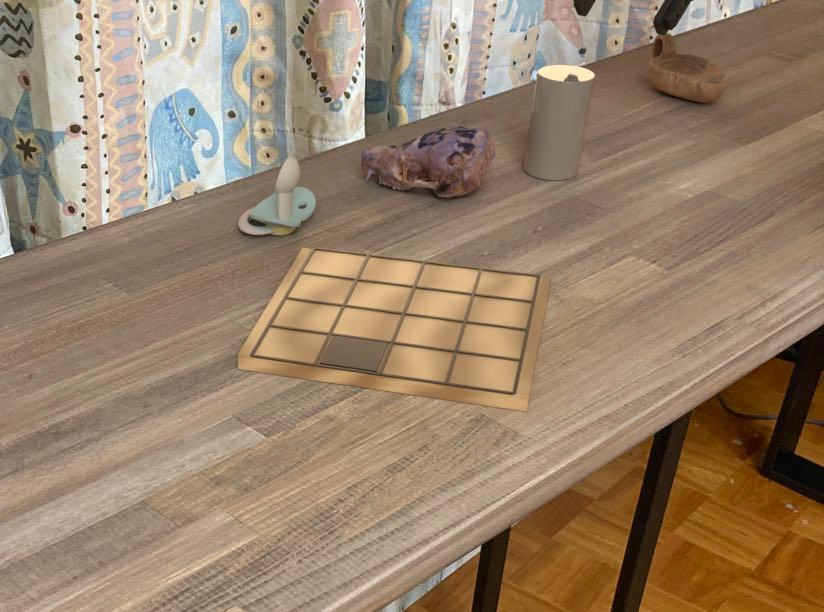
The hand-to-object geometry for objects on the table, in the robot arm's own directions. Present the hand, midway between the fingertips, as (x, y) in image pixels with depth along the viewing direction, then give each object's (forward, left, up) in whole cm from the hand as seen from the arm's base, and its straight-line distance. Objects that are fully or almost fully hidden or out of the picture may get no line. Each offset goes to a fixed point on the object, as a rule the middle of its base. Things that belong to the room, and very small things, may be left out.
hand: (617, 20), depth 104 cm
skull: (+15, +13, -12) cm, 23 cm away
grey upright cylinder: (+4, +6, -12) cm, 14 cm away
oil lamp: (-8, -22, -12) cm, 26 cm away
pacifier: (+26, +26, -12) cm, 39 cm away
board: (+12, +41, -12) cm, 45 cm away
